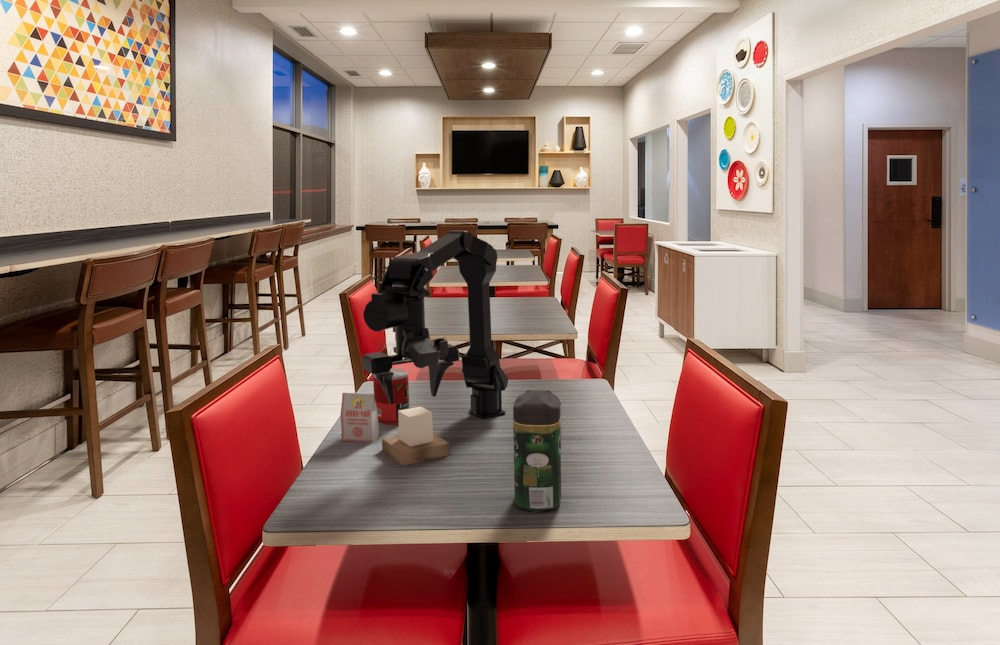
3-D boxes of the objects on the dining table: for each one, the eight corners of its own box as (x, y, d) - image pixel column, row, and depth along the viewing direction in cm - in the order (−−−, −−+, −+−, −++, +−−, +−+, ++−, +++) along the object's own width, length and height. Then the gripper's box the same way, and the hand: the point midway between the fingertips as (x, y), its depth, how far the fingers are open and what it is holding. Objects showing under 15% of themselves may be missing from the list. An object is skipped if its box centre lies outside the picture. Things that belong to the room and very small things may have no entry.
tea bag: (348, 435, 152) (346, 390, 150) (378, 436, 151) (376, 391, 149) (342, 441, 148) (339, 395, 146) (372, 442, 147) (370, 396, 145)
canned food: (403, 425, 158) (401, 377, 156) (369, 423, 159) (367, 376, 157) (414, 414, 165) (412, 369, 163) (382, 413, 167) (380, 367, 164)
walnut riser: (427, 442, 148) (426, 428, 147) (449, 457, 140) (448, 442, 139) (382, 452, 143) (381, 438, 142) (402, 468, 135) (401, 453, 134)
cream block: (421, 434, 144) (420, 406, 143) (433, 441, 140) (432, 412, 139) (399, 439, 141) (398, 410, 140) (410, 446, 137) (408, 417, 136)
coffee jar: (516, 488, 124) (515, 385, 120) (562, 489, 123) (562, 386, 119) (511, 512, 114) (509, 402, 111) (560, 514, 113) (560, 403, 110)
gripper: (382, 334, 125) (385, 419, 127) (472, 323, 134) (474, 402, 137) (358, 325, 134) (362, 404, 137) (445, 315, 144) (447, 389, 147)
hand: (412, 400), depth 139 cm, fingers open, 9 cm apart
